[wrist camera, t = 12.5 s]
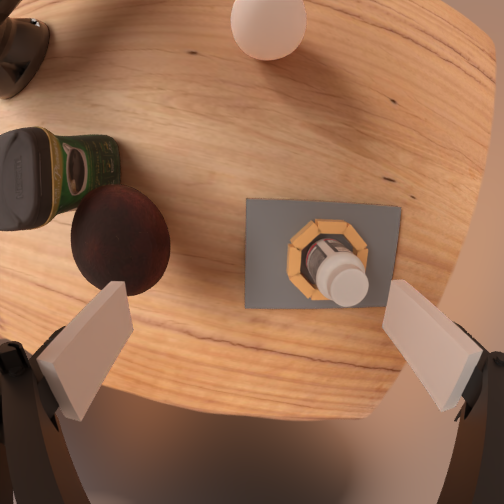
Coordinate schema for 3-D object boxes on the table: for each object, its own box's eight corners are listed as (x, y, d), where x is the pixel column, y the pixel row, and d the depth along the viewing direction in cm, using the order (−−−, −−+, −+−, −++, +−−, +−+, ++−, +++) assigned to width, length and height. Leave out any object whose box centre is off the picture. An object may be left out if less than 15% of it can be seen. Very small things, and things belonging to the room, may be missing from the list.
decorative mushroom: (124, 266, 37) (66, 315, 23) (109, 187, 34) (37, 200, 20) (199, 258, 37) (168, 312, 22) (187, 172, 34) (143, 174, 19)
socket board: (246, 198, 35) (246, 200, 32) (397, 206, 35) (407, 209, 32) (245, 304, 39) (244, 314, 36) (383, 302, 39) (391, 311, 36)
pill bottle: (317, 285, 37) (337, 323, 27) (297, 251, 35) (312, 280, 26) (352, 264, 36) (383, 294, 26) (334, 229, 35) (362, 250, 25)
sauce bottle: (302, 69, 30) (341, -6, 13) (240, 77, 31) (229, -1, 13) (289, 20, 28) (312, -66, 11) (230, 27, 29) (214, -61, 11)
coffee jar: (74, 141, 32) (-24, 136, 14) (122, 132, 32) (27, 112, 14) (77, 209, 35) (-19, 241, 17) (125, 204, 35) (32, 237, 17)
